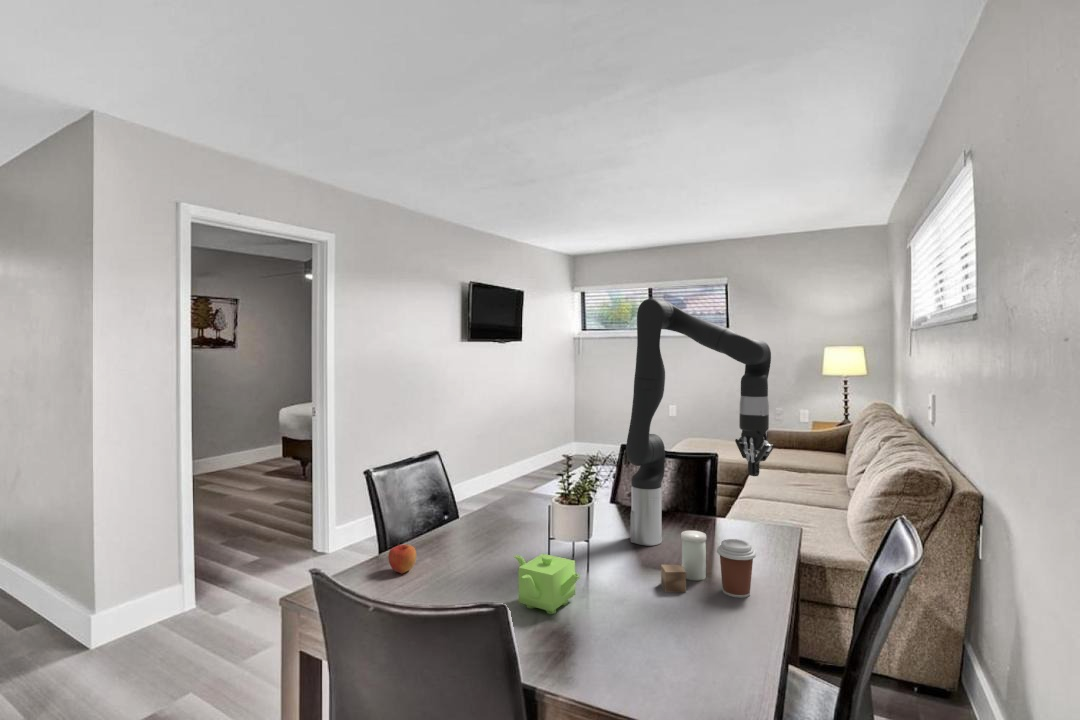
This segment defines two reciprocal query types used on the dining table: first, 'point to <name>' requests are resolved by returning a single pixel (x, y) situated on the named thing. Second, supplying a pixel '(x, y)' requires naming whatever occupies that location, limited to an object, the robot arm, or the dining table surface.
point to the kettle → (546, 582)
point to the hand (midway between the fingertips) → (753, 475)
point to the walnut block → (673, 578)
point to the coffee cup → (736, 567)
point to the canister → (694, 554)
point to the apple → (402, 558)
